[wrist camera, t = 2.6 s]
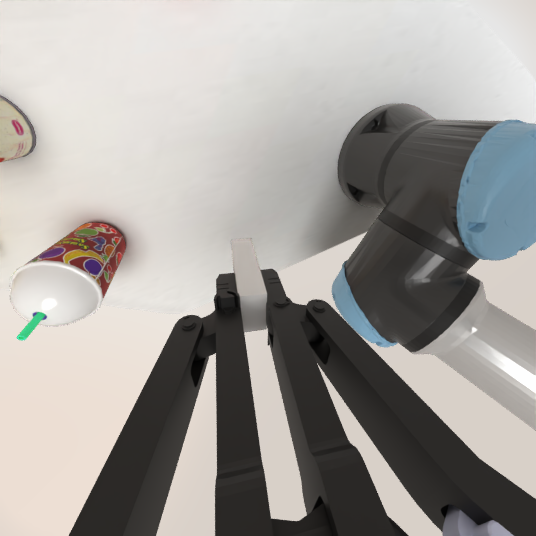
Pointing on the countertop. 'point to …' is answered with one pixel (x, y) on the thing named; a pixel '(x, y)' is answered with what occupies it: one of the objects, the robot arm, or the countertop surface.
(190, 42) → the countertop surface
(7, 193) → the countertop surface
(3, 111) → the aerosol can
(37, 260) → the smoothie
